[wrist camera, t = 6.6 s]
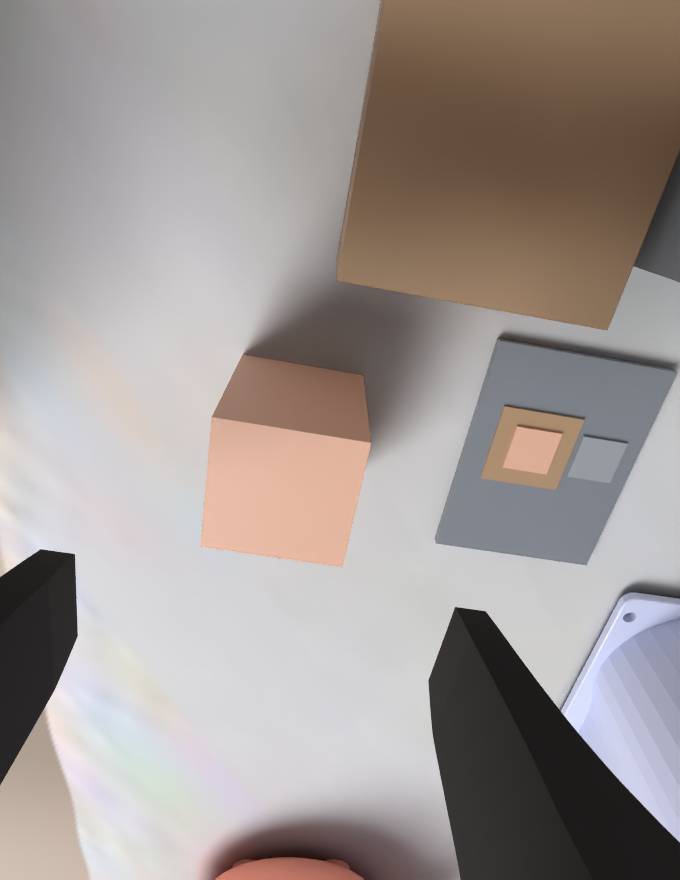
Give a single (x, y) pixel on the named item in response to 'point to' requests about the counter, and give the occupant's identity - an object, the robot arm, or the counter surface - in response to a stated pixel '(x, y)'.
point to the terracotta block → (286, 461)
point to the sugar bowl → (289, 870)
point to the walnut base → (513, 152)
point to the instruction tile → (549, 451)
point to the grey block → (664, 232)
